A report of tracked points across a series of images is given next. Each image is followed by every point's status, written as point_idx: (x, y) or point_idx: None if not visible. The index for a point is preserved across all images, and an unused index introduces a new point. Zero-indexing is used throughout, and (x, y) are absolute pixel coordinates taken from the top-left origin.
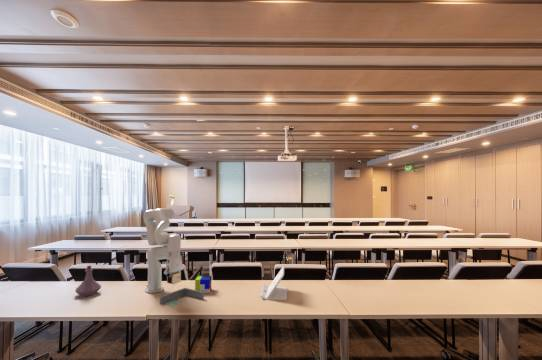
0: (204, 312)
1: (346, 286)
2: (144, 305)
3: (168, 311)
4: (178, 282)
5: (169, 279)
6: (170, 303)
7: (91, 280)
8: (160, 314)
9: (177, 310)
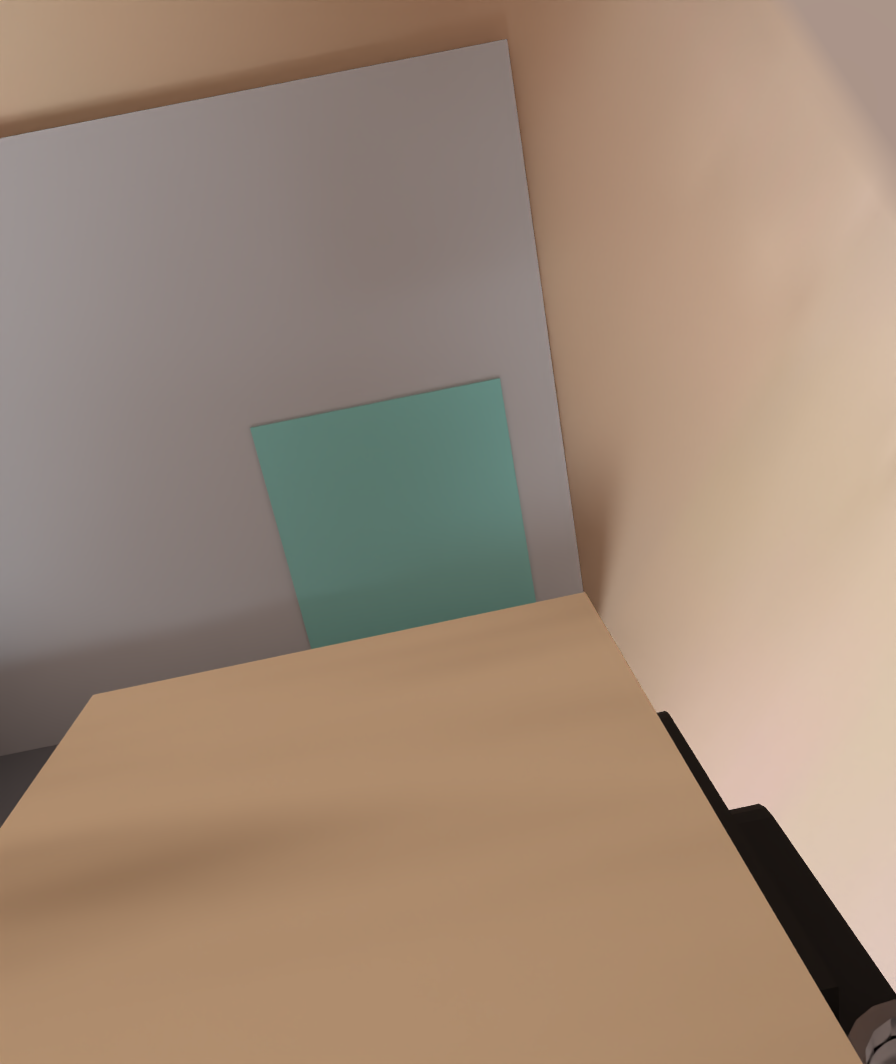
0: None
1: None
2: (777, 813)
3: (685, 199)
4: (236, 667)
5: (817, 908)
6: (448, 540)
7: None
8: (880, 180)
9: (525, 80)
